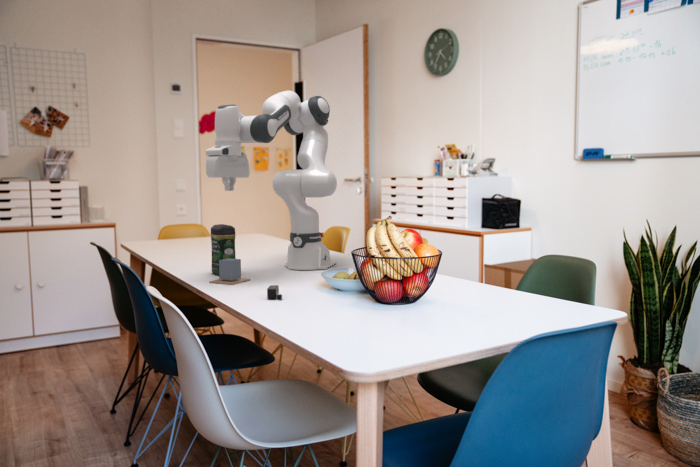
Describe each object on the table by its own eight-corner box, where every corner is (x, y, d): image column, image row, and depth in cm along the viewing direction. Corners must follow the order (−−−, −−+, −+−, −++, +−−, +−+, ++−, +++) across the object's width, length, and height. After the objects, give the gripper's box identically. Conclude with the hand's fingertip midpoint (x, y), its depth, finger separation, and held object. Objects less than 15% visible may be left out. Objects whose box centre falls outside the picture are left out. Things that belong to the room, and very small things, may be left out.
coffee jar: (208, 273, 215) (207, 224, 213) (227, 271, 220) (226, 223, 218) (219, 276, 208) (218, 225, 206) (239, 274, 212) (238, 224, 211)
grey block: (228, 276, 201) (228, 258, 201) (241, 277, 199) (240, 259, 198) (219, 279, 196) (219, 260, 196) (231, 280, 194) (231, 261, 194)
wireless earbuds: (266, 300, 168) (266, 289, 168) (270, 295, 175) (270, 285, 175) (281, 300, 168) (281, 289, 168) (285, 295, 175) (284, 285, 175)
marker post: (227, 278, 204) (227, 258, 204) (250, 280, 200) (250, 260, 200) (209, 282, 195) (208, 262, 195) (233, 284, 191) (232, 264, 191)
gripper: (239, 152, 211) (239, 190, 213) (202, 150, 193) (203, 191, 194) (253, 152, 209) (254, 190, 210) (217, 149, 190) (218, 191, 192)
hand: (229, 190), depth 202 cm, fingers closed
